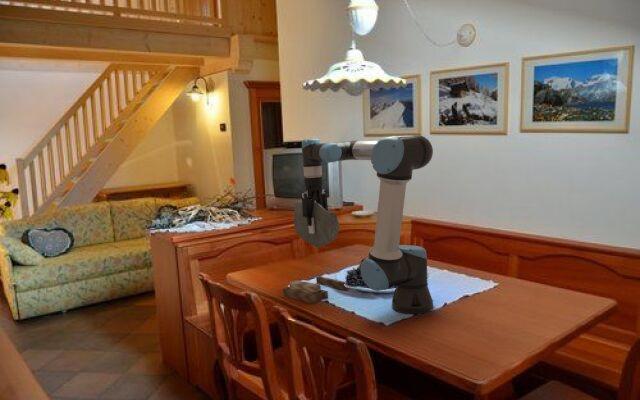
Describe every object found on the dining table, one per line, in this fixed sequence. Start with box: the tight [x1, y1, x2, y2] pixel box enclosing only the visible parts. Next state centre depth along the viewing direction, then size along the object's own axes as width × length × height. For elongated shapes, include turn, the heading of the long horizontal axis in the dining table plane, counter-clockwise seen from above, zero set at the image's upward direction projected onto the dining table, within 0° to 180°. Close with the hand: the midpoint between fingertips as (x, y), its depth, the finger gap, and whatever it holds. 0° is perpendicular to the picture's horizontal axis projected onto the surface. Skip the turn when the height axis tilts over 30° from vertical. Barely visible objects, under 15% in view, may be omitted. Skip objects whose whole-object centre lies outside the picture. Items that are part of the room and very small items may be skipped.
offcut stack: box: [289, 279, 322, 295], centre depth 199 cm, size 14×4×6 cm, turn 51°
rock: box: [293, 201, 340, 248], centre depth 202 cm, size 27×6×20 cm, turn 42°
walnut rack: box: [282, 275, 350, 305], centre depth 204 cm, size 18×21×3 cm
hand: (316, 231), depth 203 cm, fingers closed on rock, 5 cm apart
